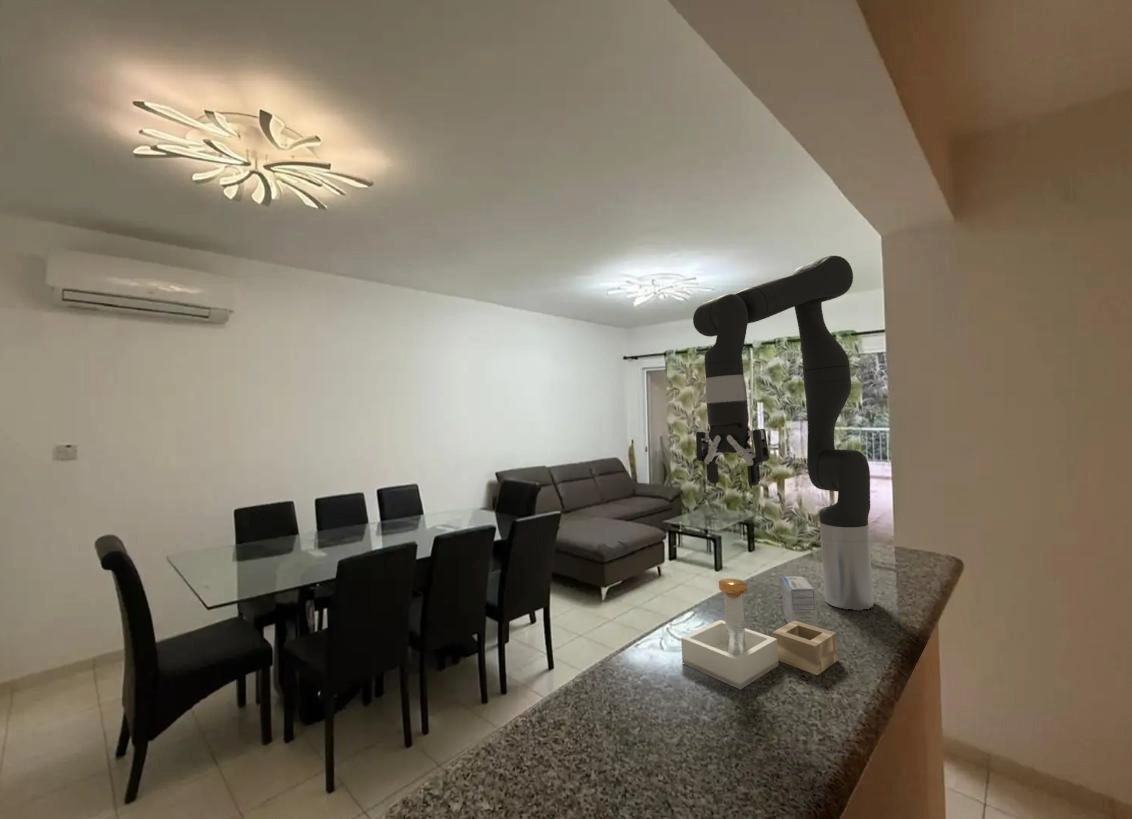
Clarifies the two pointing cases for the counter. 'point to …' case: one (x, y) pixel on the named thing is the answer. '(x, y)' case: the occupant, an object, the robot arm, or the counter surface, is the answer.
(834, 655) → the pin block
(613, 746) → the counter surface
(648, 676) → the counter surface
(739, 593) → the pin
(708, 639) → the tray
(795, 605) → the medicine box
